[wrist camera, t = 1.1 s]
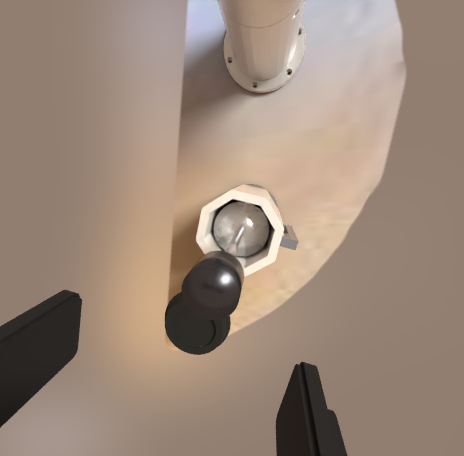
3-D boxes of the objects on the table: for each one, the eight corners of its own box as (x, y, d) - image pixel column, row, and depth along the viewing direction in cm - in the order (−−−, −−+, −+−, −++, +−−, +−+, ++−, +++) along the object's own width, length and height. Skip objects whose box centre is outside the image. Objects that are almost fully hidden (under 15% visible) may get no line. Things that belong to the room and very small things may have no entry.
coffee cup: (185, 292, 50) (151, 340, 36) (201, 250, 48) (172, 284, 33) (229, 312, 50) (213, 369, 35) (248, 271, 47) (239, 314, 33)
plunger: (221, 195, 32) (163, 222, 14) (275, 209, 32) (284, 255, 14) (210, 246, 34) (146, 326, 16) (260, 260, 33) (252, 359, 16)
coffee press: (227, 177, 44) (205, 180, 29) (296, 194, 43) (312, 206, 28) (214, 233, 47) (188, 263, 31) (280, 250, 46) (286, 290, 30)
